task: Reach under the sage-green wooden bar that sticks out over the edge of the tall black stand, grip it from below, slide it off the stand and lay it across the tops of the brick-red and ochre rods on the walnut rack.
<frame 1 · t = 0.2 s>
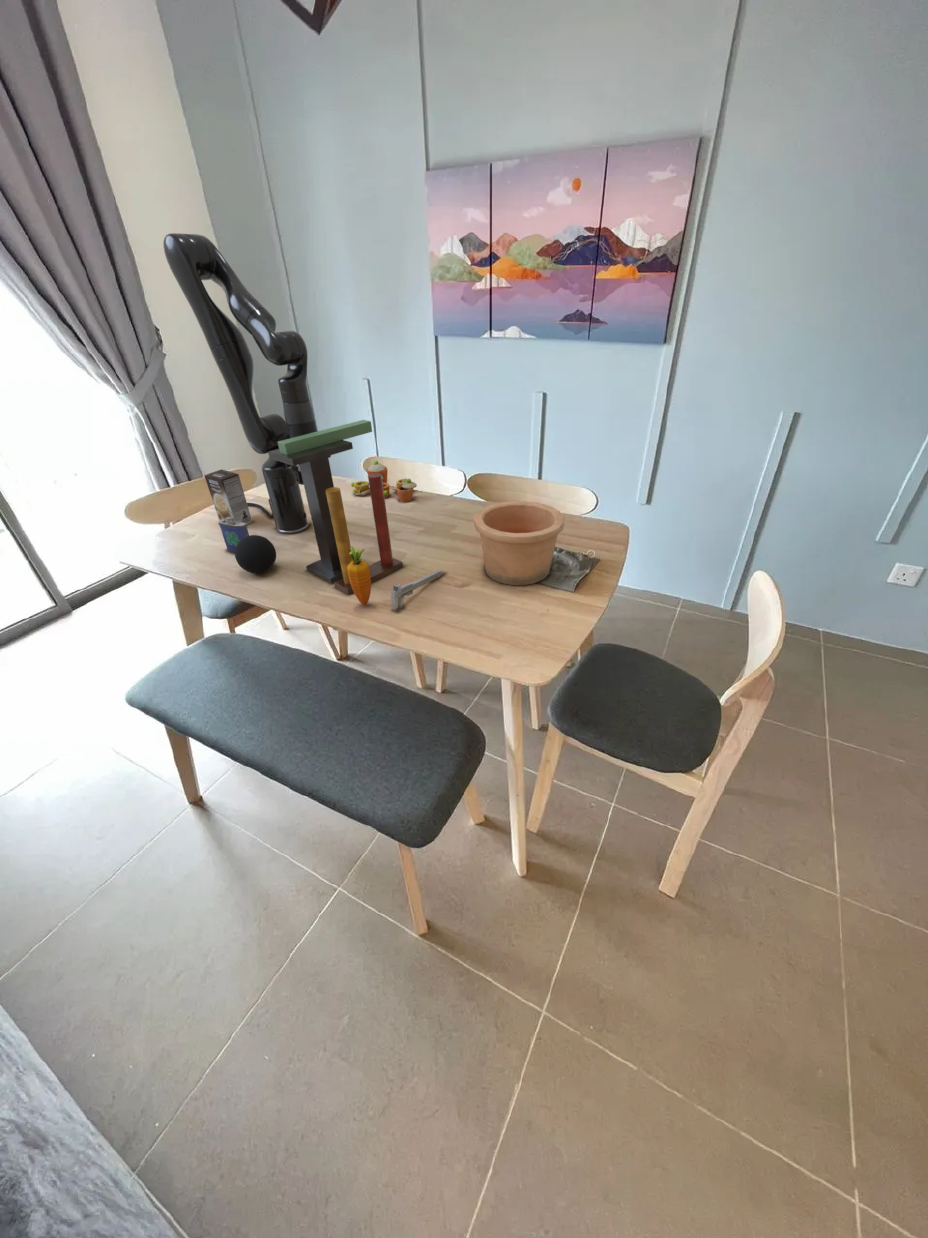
hand: (313, 479, 139), 17 cm above the table, tool pointing down, fingers open, 8 cm apart
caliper: (420, 592, 120), on the table
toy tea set: (389, 493, 177), on the table
rod rack: (370, 576, 127), on the table
pottery: (517, 569, 128), on the table
blue clover container: (240, 552, 142), on the table
bar: (328, 441, 116), point 32 cm above the table, touching stand
coffee box: (236, 523, 160), on the table
carrot: (364, 606, 116), on the table
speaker: (261, 571, 132), on the table
stand: (336, 569, 131), on the table
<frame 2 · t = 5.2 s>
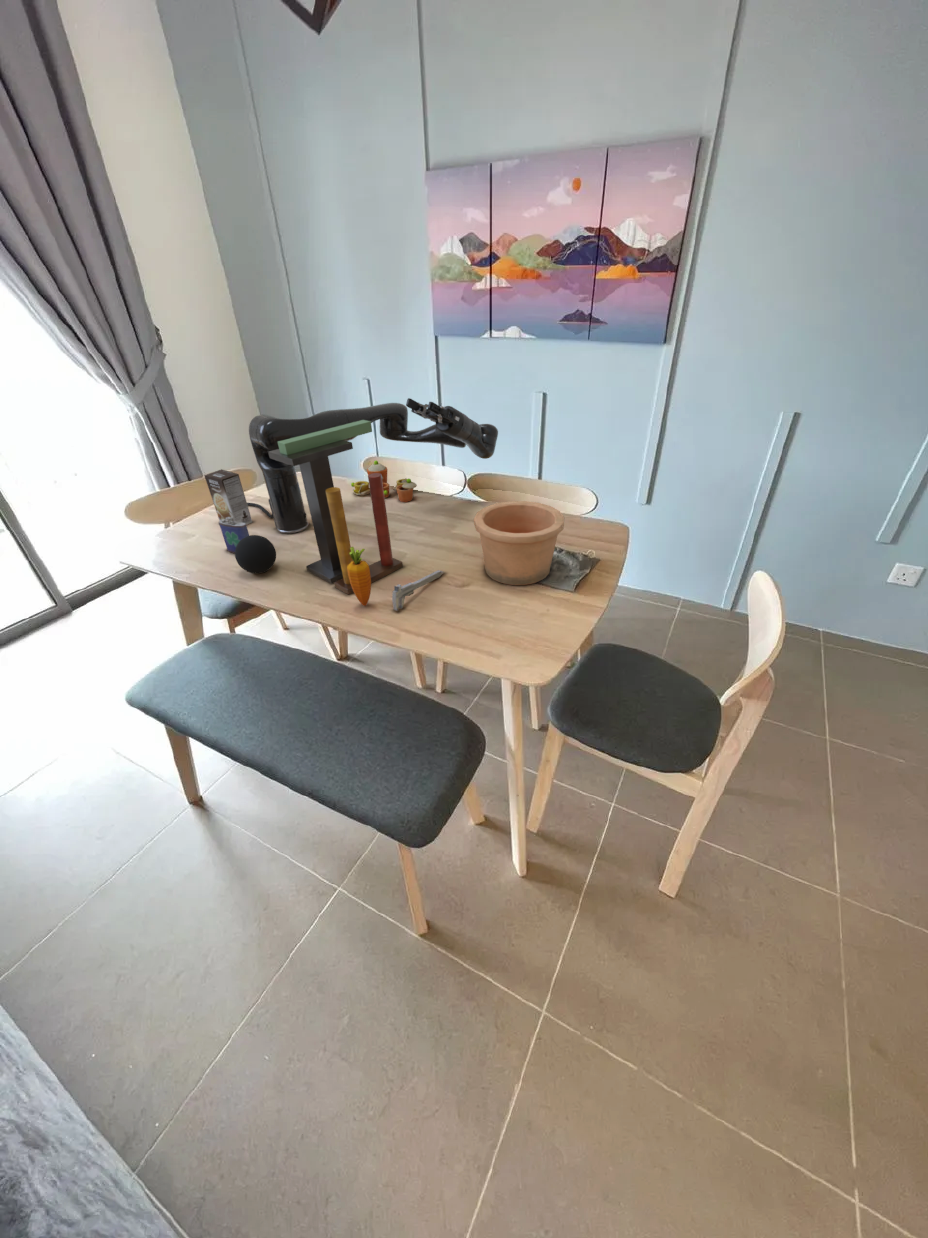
hand: (418, 403, 134), 35 cm above the table, tool pointing upward, fingers open, 8 cm apart
nothing on the table moved.
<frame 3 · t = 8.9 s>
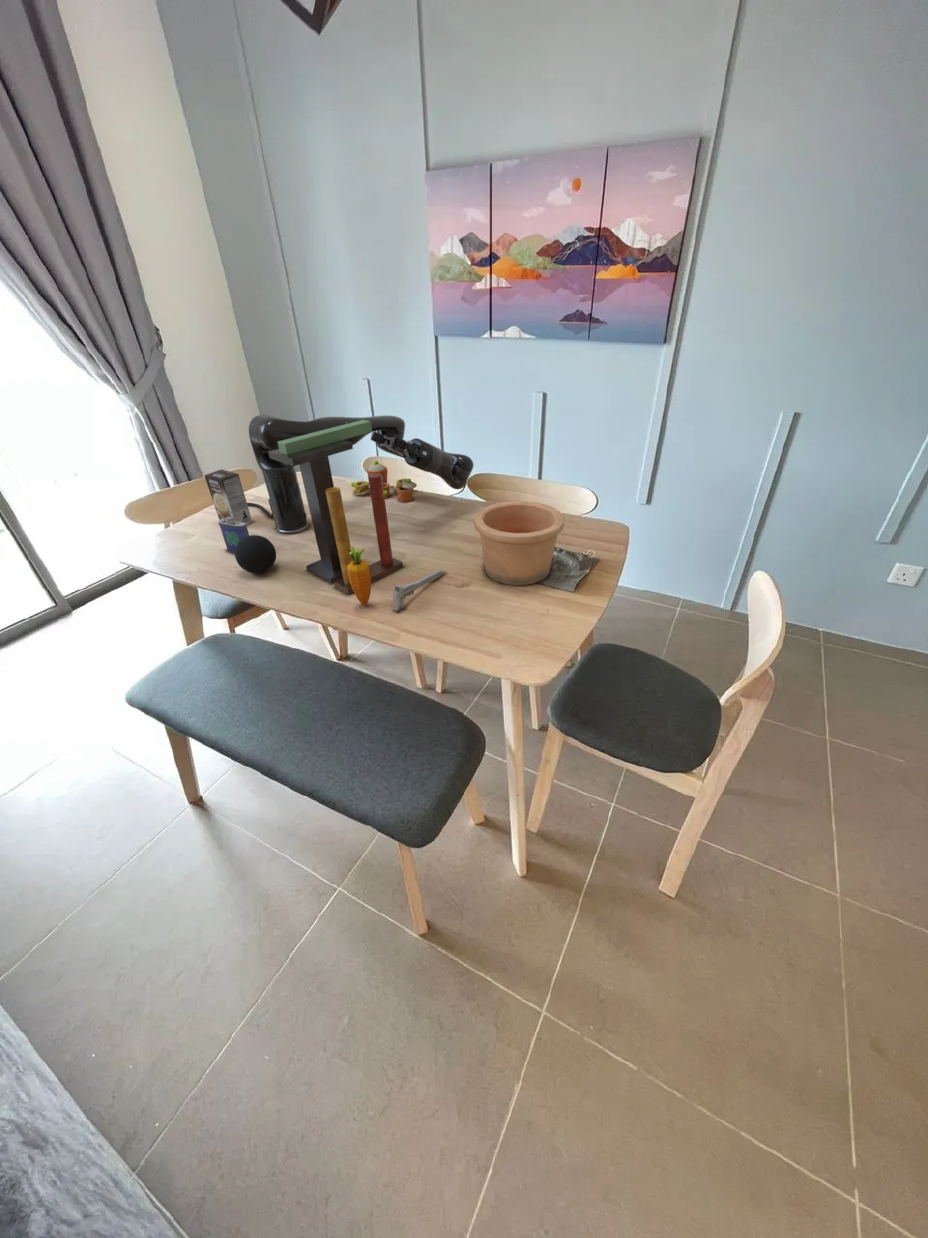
hand: (382, 438, 127), 29 cm above the table, tool pointing upward, fingers open, 8 cm apart
nothing on the table moved.
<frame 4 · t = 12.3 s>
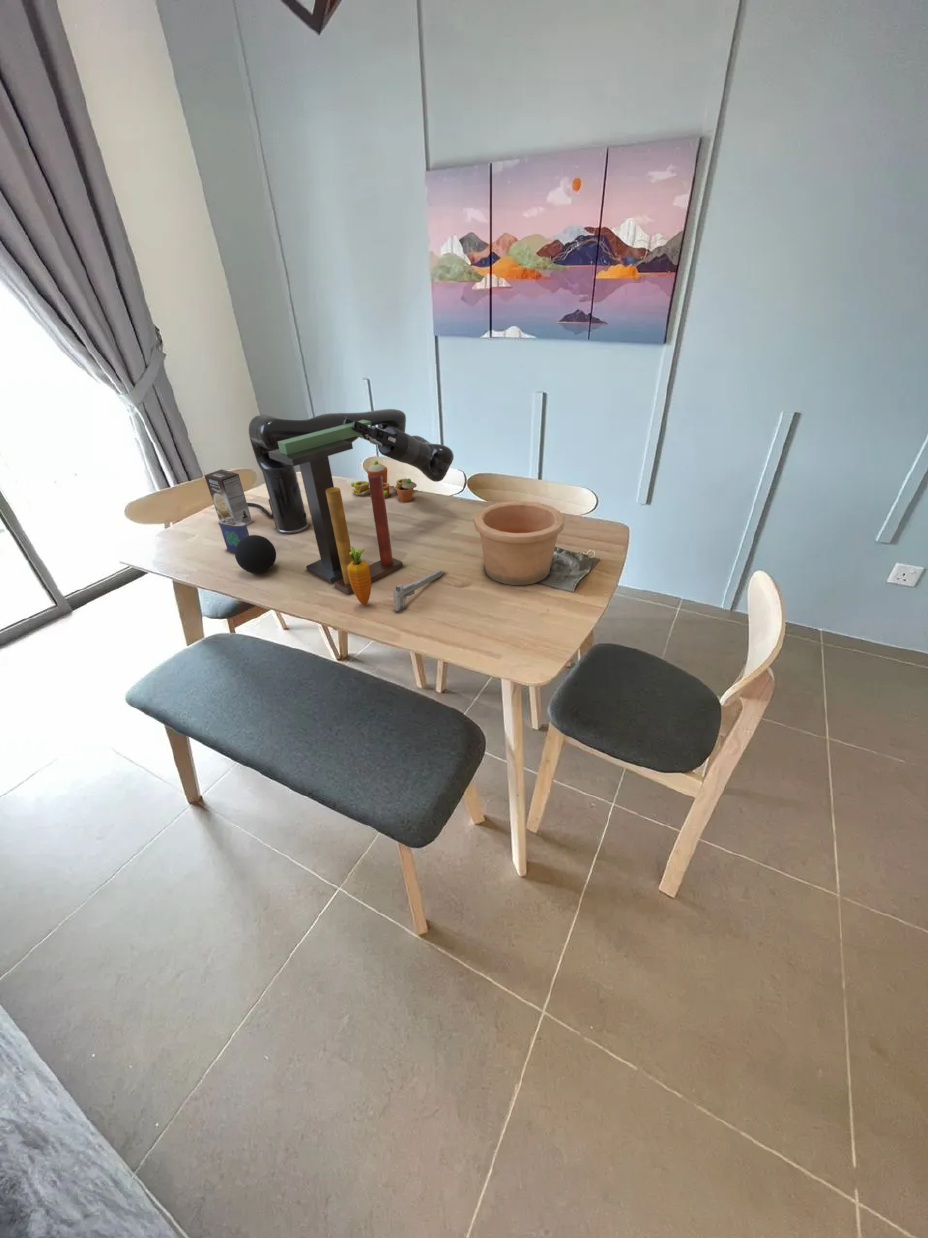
hand: (349, 423, 118), 35 cm above the table, tool pointing upward, fingers closed on bar, 3 cm apart
bar: (328, 441, 116), point 32 cm above the table, touching gripper, stand
everything else where it was.
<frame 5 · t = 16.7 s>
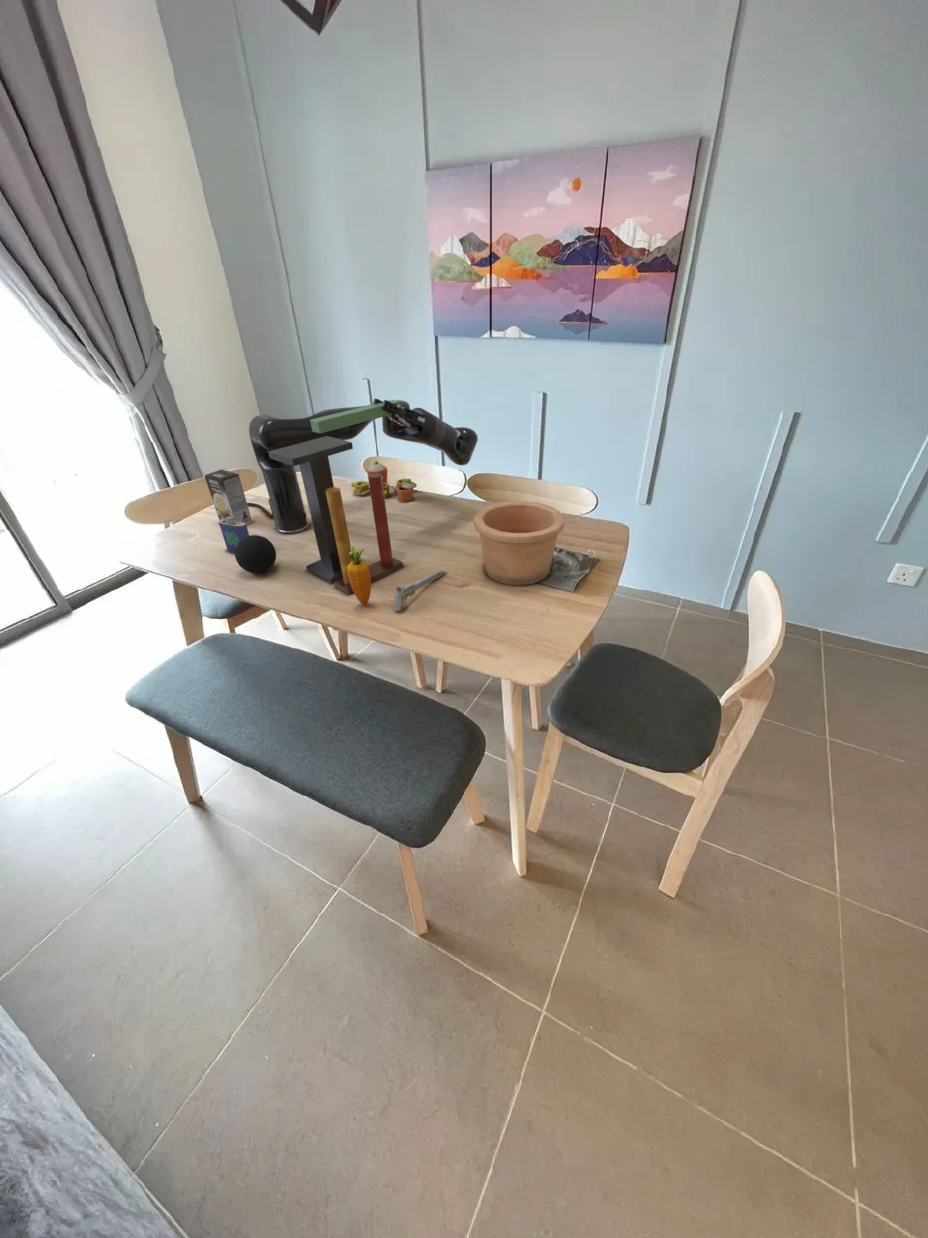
hand: (379, 403, 117), 39 cm above the table, tool pointing upward, fingers closed on bar, 3 cm apart
bar: (359, 421, 115), point 36 cm above the table, touching gripper
everything else where it was.
when the fingers open (28 cm above the table, at t = 21.2 s): bar stays where it is, resting on rod rack.
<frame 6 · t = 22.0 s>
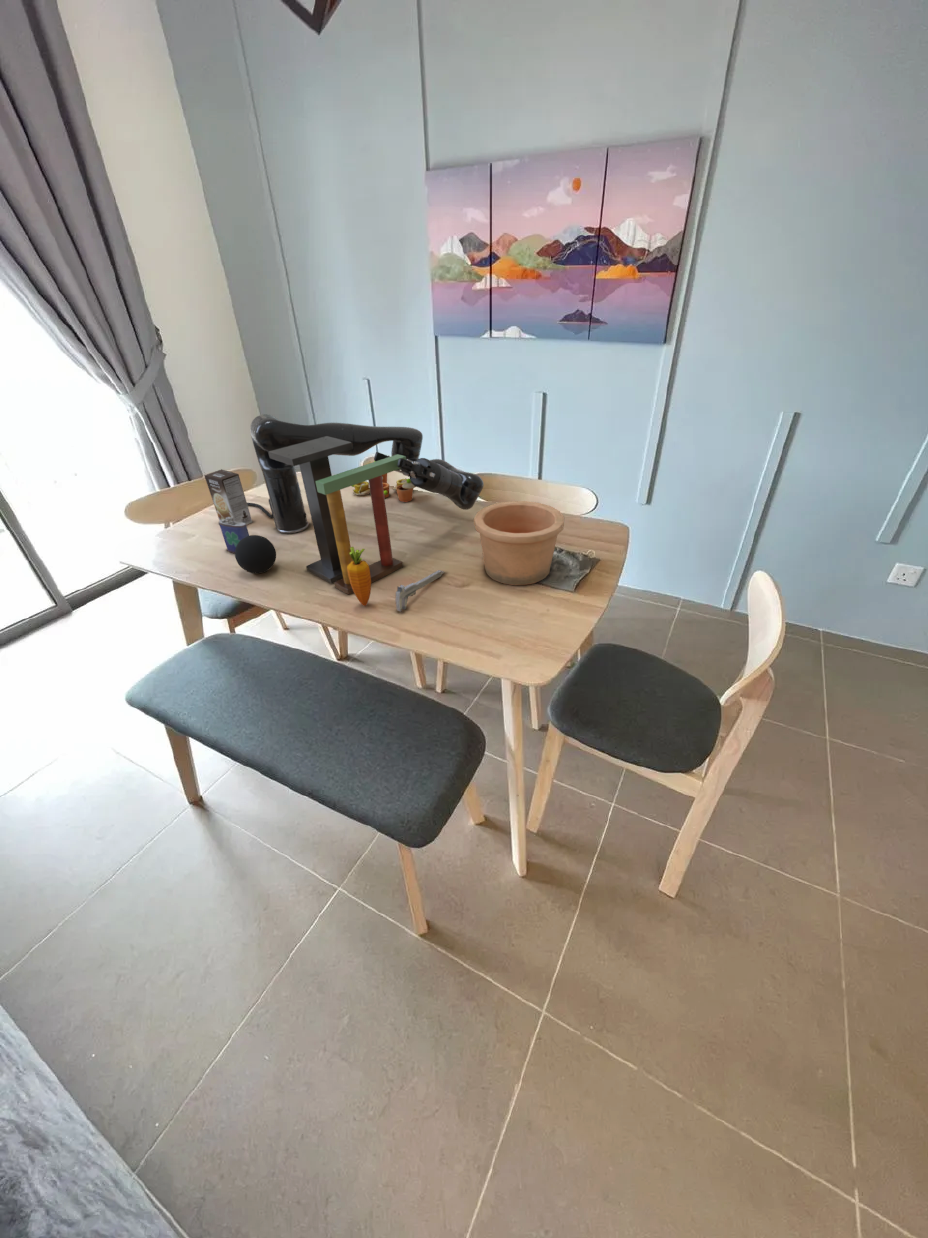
hand: (387, 459, 117), 28 cm above the table, tool pointing upward, fingers open, 8 cm apart
bar: (364, 478, 115), point 25 cm above the table, touching rod rack
everything else where it was.
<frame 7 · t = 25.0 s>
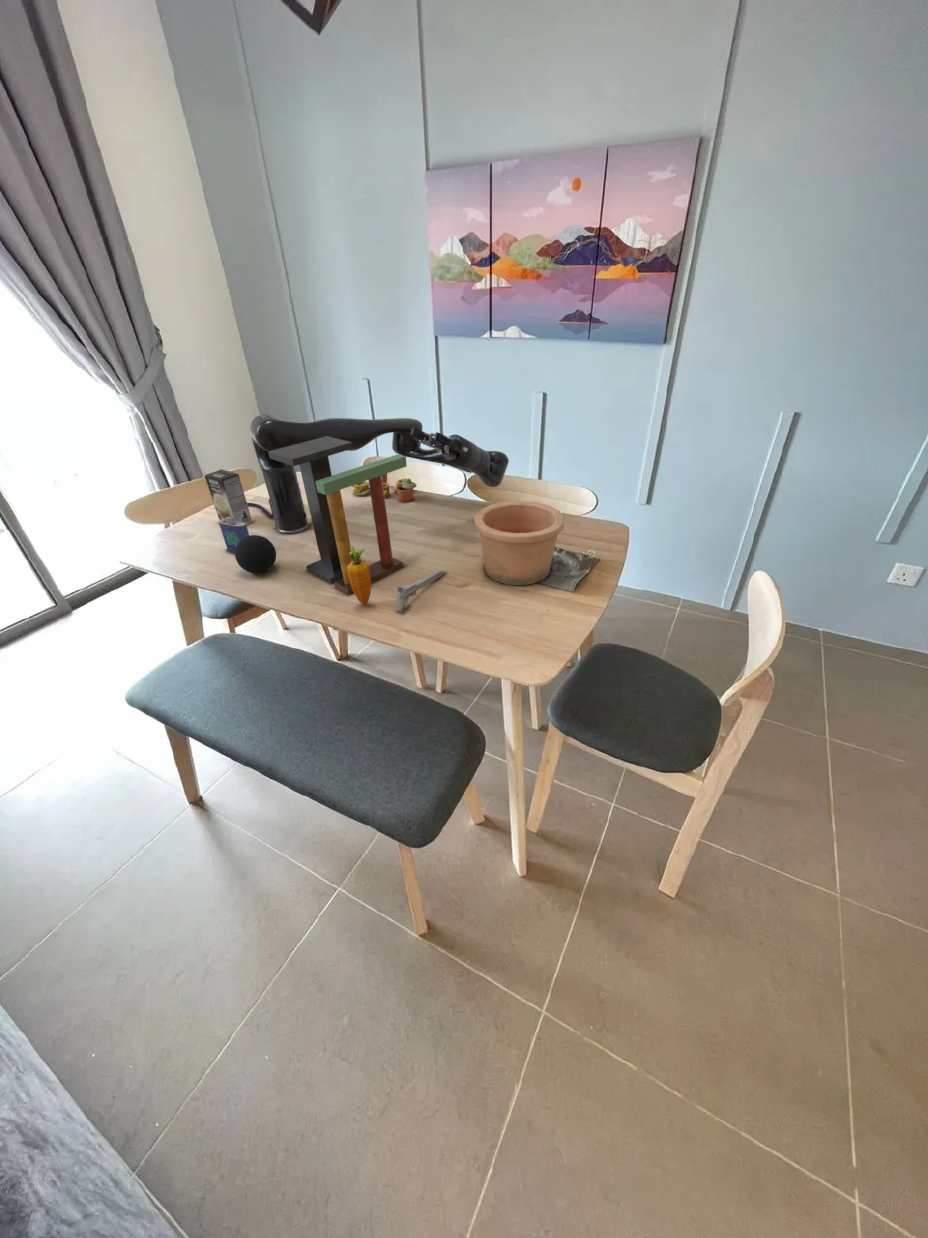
hand: (423, 433, 124), 31 cm above the table, tool pointing upward, fingers open, 8 cm apart
nothing on the table moved.
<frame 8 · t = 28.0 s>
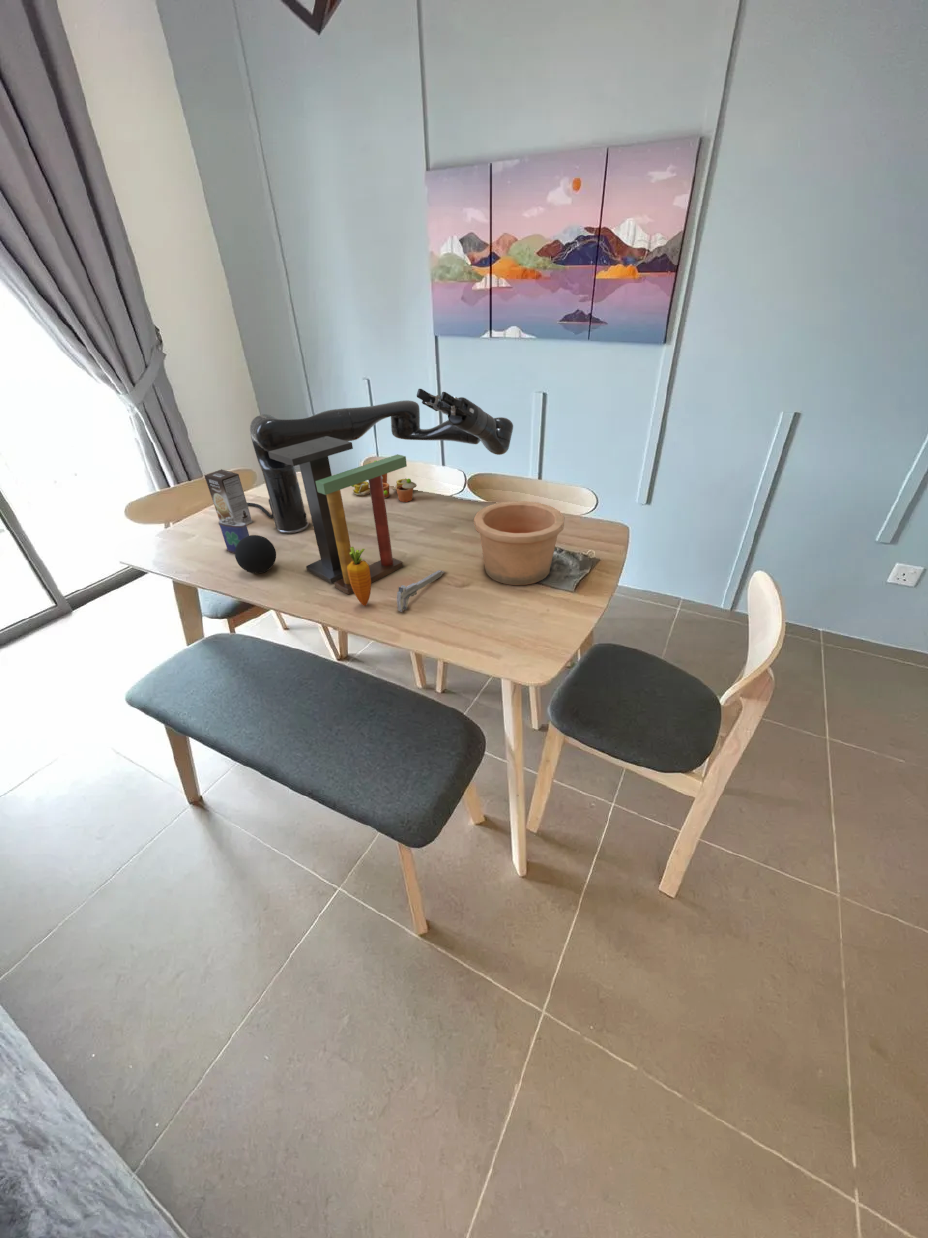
hand: (430, 393, 124), 39 cm above the table, tool pointing upward, fingers open, 8 cm apart
nothing on the table moved.
at the end: bar inside the target area on the rod rack (0.0 cm from its centre), point 25.0 cm above the rod rack's base; bar tilted 0°; the gripper is holding nothing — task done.
